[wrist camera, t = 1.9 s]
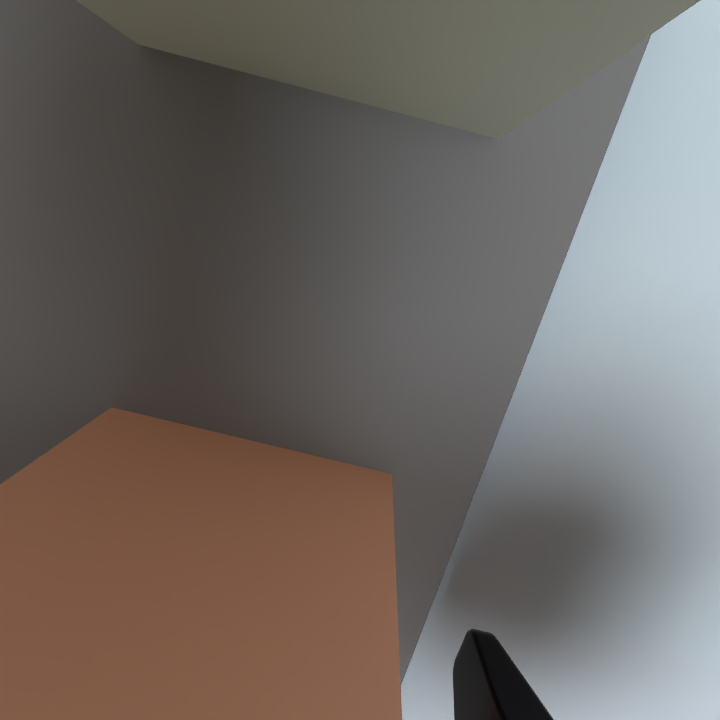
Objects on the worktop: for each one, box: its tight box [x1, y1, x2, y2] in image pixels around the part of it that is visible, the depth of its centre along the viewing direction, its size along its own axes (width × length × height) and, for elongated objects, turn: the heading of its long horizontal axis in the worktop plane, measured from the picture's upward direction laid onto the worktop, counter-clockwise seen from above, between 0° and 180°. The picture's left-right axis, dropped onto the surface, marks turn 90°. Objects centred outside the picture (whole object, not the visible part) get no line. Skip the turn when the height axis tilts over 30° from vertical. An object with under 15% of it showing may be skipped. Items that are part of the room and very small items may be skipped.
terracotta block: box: [0, 407, 402, 720], centre depth 6 cm, size 5×5×5 cm
